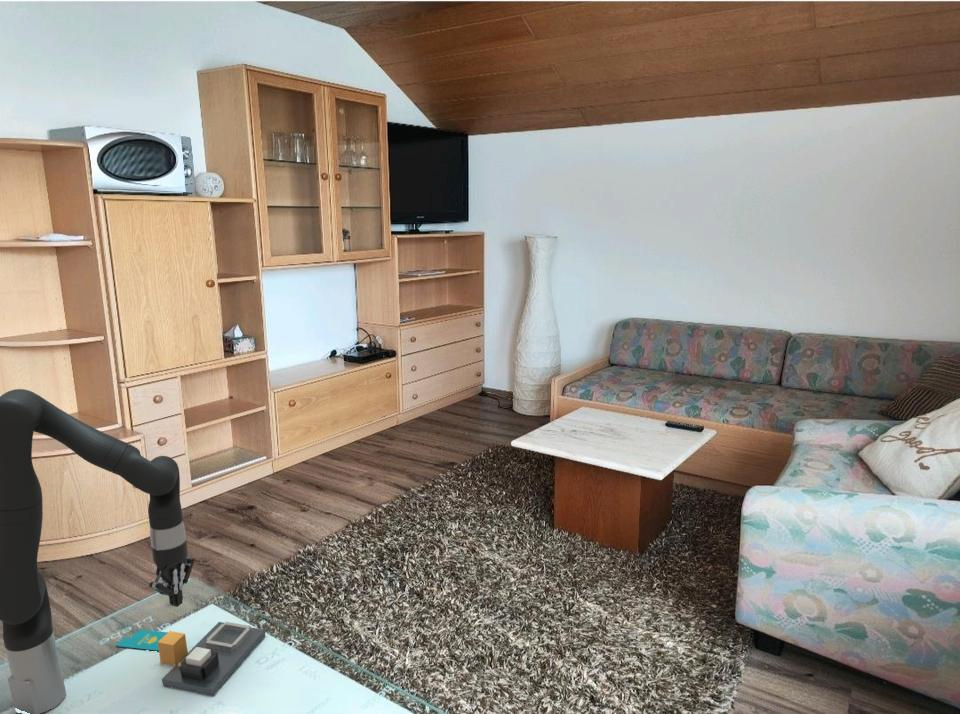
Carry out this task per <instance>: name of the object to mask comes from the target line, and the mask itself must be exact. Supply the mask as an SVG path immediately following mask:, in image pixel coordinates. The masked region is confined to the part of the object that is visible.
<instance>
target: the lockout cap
mask: <svg viewBox="0 0 960 714" xmlns="http://www.w3.org/2000/svg"><path fill="white" fill-rule="evenodd" d="M167 632H168V633H167V634H166V635H165V636H164V637H163V638H162V639H161V640H160V641H158V648H159V652H158V653H159V661H160V663H161V664H165V663H166V664H167V665H170V664H171V665H170V666H175V665H176V664H177V663H178V662H179V661H180V660H181V659H182V658H183V657H184V656H185V655H186V654H187V653H188V652H189V651H188V645H187V639H186V638H187V637H186V633H184V632H183V633H182V632H177V631H171V630H169V631H167Z"/></svg>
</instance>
